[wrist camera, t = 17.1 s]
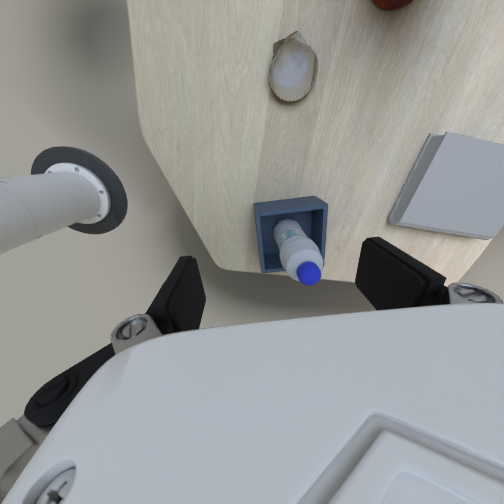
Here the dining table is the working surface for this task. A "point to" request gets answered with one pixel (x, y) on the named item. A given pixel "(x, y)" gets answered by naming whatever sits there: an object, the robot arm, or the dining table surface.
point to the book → (454, 188)
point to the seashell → (292, 68)
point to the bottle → (298, 252)
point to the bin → (299, 209)
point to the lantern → (391, 4)
